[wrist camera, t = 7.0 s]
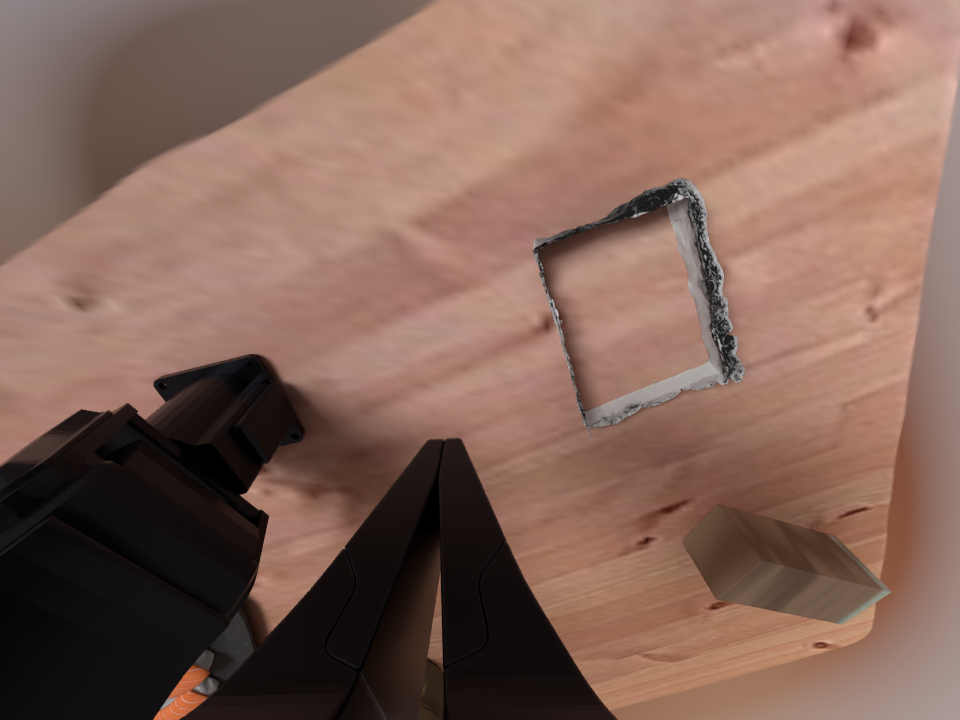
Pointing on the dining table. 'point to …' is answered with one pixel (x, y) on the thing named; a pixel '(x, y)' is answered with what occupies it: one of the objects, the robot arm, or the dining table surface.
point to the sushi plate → (210, 669)
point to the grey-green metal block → (780, 566)
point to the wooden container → (432, 694)
